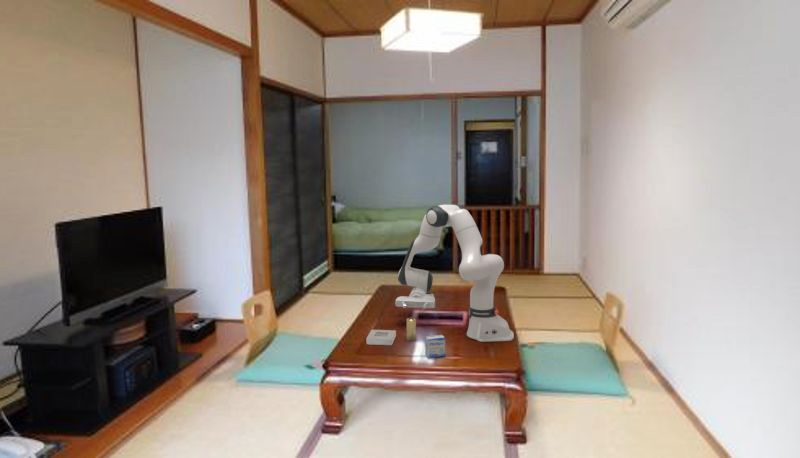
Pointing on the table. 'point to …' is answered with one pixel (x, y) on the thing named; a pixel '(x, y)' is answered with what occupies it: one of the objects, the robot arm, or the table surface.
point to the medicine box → (434, 346)
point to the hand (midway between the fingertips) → (413, 307)
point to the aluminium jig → (381, 337)
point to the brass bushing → (411, 329)
